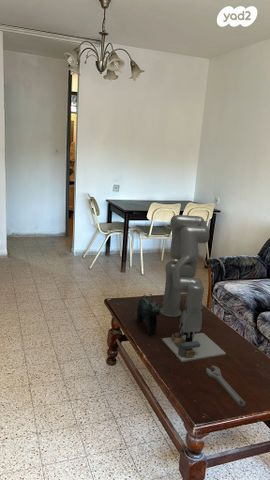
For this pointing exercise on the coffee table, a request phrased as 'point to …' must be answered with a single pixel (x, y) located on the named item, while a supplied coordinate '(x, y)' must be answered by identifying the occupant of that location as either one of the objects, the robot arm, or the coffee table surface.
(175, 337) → the tan bar
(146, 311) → the ceramic cat
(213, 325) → the coffee table surface
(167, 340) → the mounting board
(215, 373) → the adjustable wrench
